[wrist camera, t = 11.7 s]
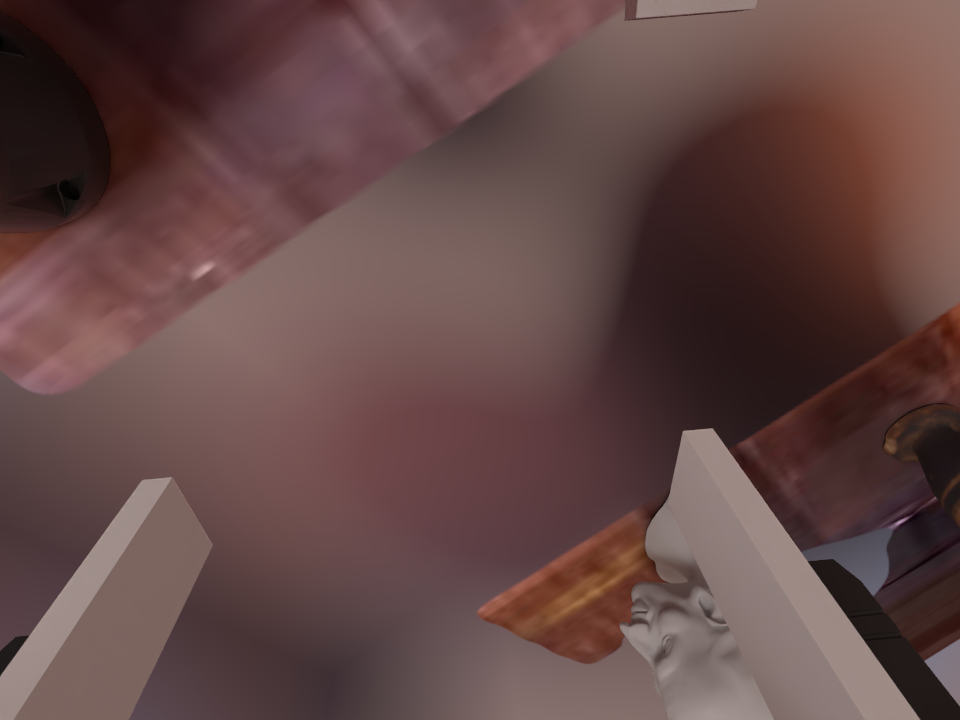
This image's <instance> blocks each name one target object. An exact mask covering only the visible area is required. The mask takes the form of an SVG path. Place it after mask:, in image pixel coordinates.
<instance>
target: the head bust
mask: <svg viewBox="0 0 960 720" xmlns="http://www.w3.org/2000/svg"><path fill="white" fill-rule="evenodd" d="M668 499H669V496H668ZM668 499H667V501H666V502H665V504H664V505H663V506H662V508H661V509H660V510H659V511H658V512H657V514H656V515H655V516H654V518H653V519H652V521H651V523H650V525H649V527H648V529H647V533H646V540H645V549H646V553H647V555H648V557H649V558H650V559H652V560H653V561H654V562H655V564H656V571H657V573H658V575H659V576H660V578H661V579H663V580H664V581H667V582H669V583H655V582H640V583H637V584H636V585H635V586H634V587H633V589H632V593H631V596H632V601H633V603H634V604H633V606H632V607H631V612H632V618H631V623H627V622H622V623H621V624H620V629H621V630H622V632H623V633H624V635H625V636H626V637H627V638H628V640H629V642H630V643H631V644H632V645H633V646H634V647H635V648H636V649H637V650H638V651H639V652H640V653H641V654H642V656H643V657H644V658H646V660H647V661H648V662H649V663H650V665H651V668H652V671H653V683H654V687H655V689H656V690H657V692H658V693H659V694H660V695H661V698H662V702H663V705H664V708H665V711H666V715H667V717H668V719H669V720H774V718H773V716H772V714H771V712H770V710H769V708H768V706H767V704H766V702H765V700H764V698H763V696H762V694H761V692H760V690H759V688H758V686H757V684H756V682H755V680H754V678H753V676H752V674H751V672H750V670H749V668H748V666H747V664H746V662H745V660H744V657H743V655H742V653H741V651H740V649H739V647H738V645H737V643H736V641H735V639H734V637H733V635H732V633H731V631H730V629H729V627H728V625H727V623H726V621H725V619H724V617H723V615H722V613H721V611H720V609H719V607H718V605H717V603H716V601H715V599H714V597H713V595H712V592H711V590H710V588H709V586H708V584H707V582H706V580H705V578H704V576H703V574H702V572H701V570H700V568H699V566H698V564H697V562H696V560H695V558H694V556H693V554H692V552H691V550H690V548H689V546H688V544H687V542H686V540H685V538H684V536H683V534H682V532H681V529H680V527H679V525H678V523H677V521H676V519H675V517H674V515H673V513H672V511H671V509H670V507H669V505H668Z"/></svg>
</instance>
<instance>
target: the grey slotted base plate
mask: <svg viewBox="0 0 960 720" xmlns="http://www.w3.org/2000/svg"><path fill="white" fill-rule="evenodd" d="M756 3H757V0H626V6H625V18H624V20H625V21H626V20H639V19H650V18H663V17H675V16H688V15H700V14H712V13H724V12H737V11H743V10H749V9H755V8H756Z"/></svg>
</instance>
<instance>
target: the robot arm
mask: <svg viewBox="0 0 960 720" xmlns="http://www.w3.org/2000/svg"><path fill="white" fill-rule="evenodd" d="M109 170H110V154H109V146H108V141H107V137H106V133H105V130H104V127H103V124H102V121H101V119H100V116H99V114H98V112H97V110H96V108H95V106H94V104H93V102H92V100H91V98H90V97H89V95H88V93H87V92H86V90H85V88H84V87H83V85H82V84H81V83H80V81H79V80H78V78H77V77H76V76H75V74H74V73H73V72H72V71H71V69H70V68H69V67H68V66H67V65H66V64H65V62H64V61H63V60H62V59H61V58H60V57H59V56H58V55H57V54H56V53H55V52H54V51H53V50H52V49H51V48H50V47H49V46H48V45H47V44H46V43H45V42H43V41H42V40H41V39H40V38H39V37H38V36H36V35H35V34H34V33H33V32H31V31H30V30H29V29H27V28H26V27H24V26H23V25H22V24H20V23H19V22H17V21H16V20H14V19H12V18H11V17H9V16H8V15H6V14H4V13H2V12H0V233H29V232H38V231H44V230H48V229H52V228H55V227H58V226H60V225H63V224H65V223H67V222H70V221H72V220H74V219H77V218H79V217H81V216H82V215H84V214H85V213H87V212H88V211H89V210H91V209H92V208H93V207H94V206H95V205H96V203H97V202H98V201H99V199H100V198H101V196H102V194H103V192H104V190H105V188H106V185H107V181H108V177H109ZM668 505H669V507H670V509H671V511H672V513H673V515H674V517H675V519H676V521H677V523H678V525H679V527H680V529H681V532H682V534H683V536H684V538H685V540H686V542H687V544H688V546H689V548H690V550H691V552H692V554H693V556H694V558H695V560H696V562H697V564H698V566H699V568H700V570H701V572H702V574H703V576H704V578H705V580H706V582H707V584H708V586H709V588H710V590H711V592H712V595H713V597H714V599H715V601H716V603H717V605H718V607H719V609H720V611H721V613H722V615H723V617H724V619H725V621H726V623H727V625H728V627H729V629H730V631H731V633H732V635H733V637H734V639H735V641H736V643H737V645H738V647H739V649H740V651H741V653H742V655H743V657H744V660H745V662H746V664H747V666H748V668H749V670H750V672H751V674H752V676H753V678H754V680H755V682H756V684H757V686H758V688H759V690H760V692H761V694H762V696H763V698H764V700H765V702H766V704H767V706H768V708H769V710H770V712H771V714H772V716H773V718H774V720H960V706H959V705H958V704H957V703H956V701H955V700H954V699H953V697H952V696H951V695H950V694H949V692H948V691H947V690H946V688H945V687H944V686H943V685H942V683H941V682H940V681H939V680H938V678H937V677H936V676H935V675H934V674H933V672H932V671H931V669H930V668H929V667H928V666H927V665H926V663H925V662H924V661H923V659H922V658H921V657H920V655H919V654H918V653H917V652H916V650H915V649H914V648H913V647H912V645H911V644H910V643H909V642H908V640H907V639H906V638H905V637H902V636H901V634H900V630H899V629H898V628H897V626H896V625H895V624H894V622H893V621H892V620H891V619H890V617H889V616H888V615H887V614H884V613H883V611H882V607H881V606H880V605H879V603H878V602H877V601H876V600H875V598H874V597H873V596H872V595H871V593H870V592H869V591H868V590H867V588H866V587H865V586H864V585H863V583H862V582H861V581H860V580H859V579H857V578H856V577H855V576H854V575H852V574H851V573H850V572H849V571H847V570H846V569H845V568H843V567H842V566H841V565H840V564H839V563H837V562H836V561H835V560H833V559H828V560H818V561H807V560H806V559H805V557H804V556H803V555H802V553H801V552H800V550H799V549H798V548H797V546H796V545H795V543H794V542H793V541H792V539H791V538H790V536H789V535H788V534H787V532H786V531H785V529H784V528H783V526H782V525H781V524H780V522H779V521H778V519H777V518H776V517H775V515H774V514H773V512H772V511H771V510H770V508H769V507H768V505H767V504H766V503H765V501H764V500H763V498H762V497H761V496H760V494H759V493H758V491H757V490H756V489H755V487H754V486H753V484H752V483H751V482H750V480H749V479H748V477H747V476H746V475H745V473H744V472H743V470H742V469H741V468H740V466H739V465H738V463H737V462H736V461H735V459H734V458H733V456H732V455H731V454H730V452H729V451H728V449H727V448H726V447H725V445H724V444H723V442H722V441H721V440H720V438H719V437H718V435H717V434H716V432H715V431H714V430H713V429H700V430H689V431H683V434H682V439H681V443H680V448H679V453H678V457H677V462H676V467H675V472H674V476H673V481H672V485H671V490H670V495H669V499H668ZM212 546H213V545H212V543H211V541H210V540H209V538H208V536H207V535H206V533H205V531H204V530H203V528H202V526H201V525H200V523H199V521H198V520H197V518H196V516H195V515H194V513H193V511H192V509H191V508H190V506H189V504H188V503H187V501H186V499H185V498H184V496H183V495H182V493H181V491H180V489H179V488H178V486H177V484H176V482H175V481H174V479H173V478H172V477H170V478H159V479H148V480H142V481H141V483H140V484H139V486H138V487H137V488H136V489H135V491H134V492H133V494H132V495H131V496H130V498H129V499H128V501H127V502H126V503H125V505H124V506H123V508H122V509H121V510H120V512H119V513H118V514H117V516H116V517H115V518H114V520H113V521H112V523H111V524H110V525H109V527H108V528H107V530H106V531H105V532H104V534H103V535H102V537H101V538H100V540H99V541H98V542H97V543H96V545H95V546H94V548H93V549H92V550H91V552H90V553H89V554H88V556H87V557H86V559H85V560H84V561H83V563H82V564H81V565H80V567H79V568H78V570H77V571H76V572H75V574H74V575H73V577H72V578H71V579H70V581H69V582H68V583H67V585H66V586H65V588H64V589H63V591H62V592H61V593H60V595H59V596H58V597H57V599H56V600H55V602H54V603H53V604H52V606H51V607H50V608H49V610H48V611H47V612H46V614H45V615H44V617H43V618H42V620H41V621H40V622H39V624H38V625H37V627H36V628H35V629H34V630H33V632H32V633H31V635H30V636H19V637H15V638H14V639H13V640H12V641H11V642H10V643H9V644H8V645H6V646H5V647H4V648H3V649H2V650H1V651H0V720H129V717H130V716H131V714H132V712H133V709H134V707H135V705H136V703H137V701H138V699H139V697H140V695H141V693H142V691H143V689H144V687H145V685H146V683H147V681H148V679H149V676H150V674H151V672H152V670H153V668H154V666H155V664H156V662H157V660H158V658H159V656H160V653H161V652H162V650H163V647H164V645H165V643H166V641H167V639H168V637H169V635H170V633H171V631H172V629H173V627H174V625H175V623H176V620H177V618H178V616H179V614H180V612H181V610H182V608H183V606H184V604H185V602H186V600H187V598H188V596H189V594H190V591H191V589H192V587H193V585H194V583H195V581H196V579H197V577H198V575H199V573H200V571H201V569H202V566H203V564H204V562H205V560H206V558H207V556H208V554H209V552H210V550H211V548H212Z"/></svg>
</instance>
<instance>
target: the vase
mask: <svg viewBox="0 0 960 720" xmlns="http://www.w3.org/2000/svg"><path fill="white" fill-rule="evenodd" d="M885 437H886V442H885V444H884V446H883V448H884V450H885V451H886V453H887V454H888V455H890V456H891V457H893V458H895V459H897V460H899V461H902V462H915V461H918V460H919V461H920V463H921V466H922V468H923V471H924V474H925V476H926V478H927V481H928V483H929V485H930V487H931V489H932V491H933V493H934V495H935V496H936V498H937V499H938V501H939V502H940V504H941V505H942V506H943V508H944V509H945V511H946V512H947V513H948V514H949V515H950V517H951V518H952V519H953V520H954V521H955V523H956V524H957V525H958V526H959V527H960V412H959V411H958V410H957V409H956V408H954V407H953V406H951V405H946V404H932V405H928V406H925V407H922V408H919V409H917V410H914V411H912V412H910V413H909V414H907V415H905V416H904V417H902V418H901V419H899V420H898V421H897V422H896V423H895V424H894V425H893V426H892V427H891V428H890V429H889V430H888V432H887V434H886V436H885Z"/></svg>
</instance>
